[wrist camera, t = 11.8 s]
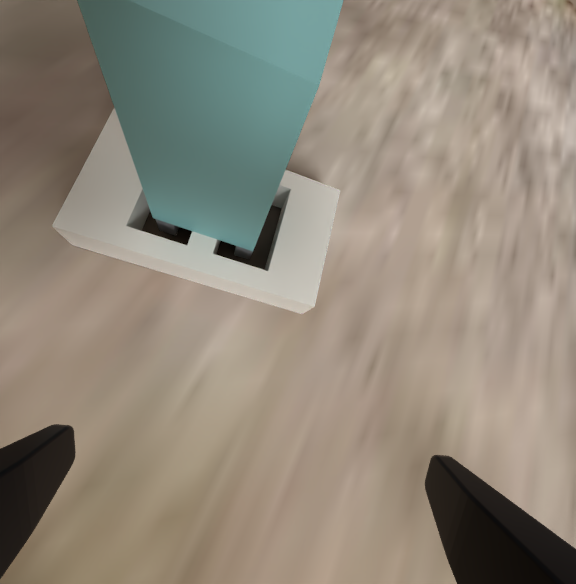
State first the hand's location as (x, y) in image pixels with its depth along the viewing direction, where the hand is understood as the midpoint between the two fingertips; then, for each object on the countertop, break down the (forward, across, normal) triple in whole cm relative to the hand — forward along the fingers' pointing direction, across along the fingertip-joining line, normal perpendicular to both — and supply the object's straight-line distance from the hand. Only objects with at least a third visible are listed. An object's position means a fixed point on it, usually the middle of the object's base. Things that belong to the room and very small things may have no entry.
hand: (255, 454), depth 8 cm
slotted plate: (+14, +4, -5) cm, 15 cm away
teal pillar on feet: (+14, +4, -5) cm, 15 cm away
